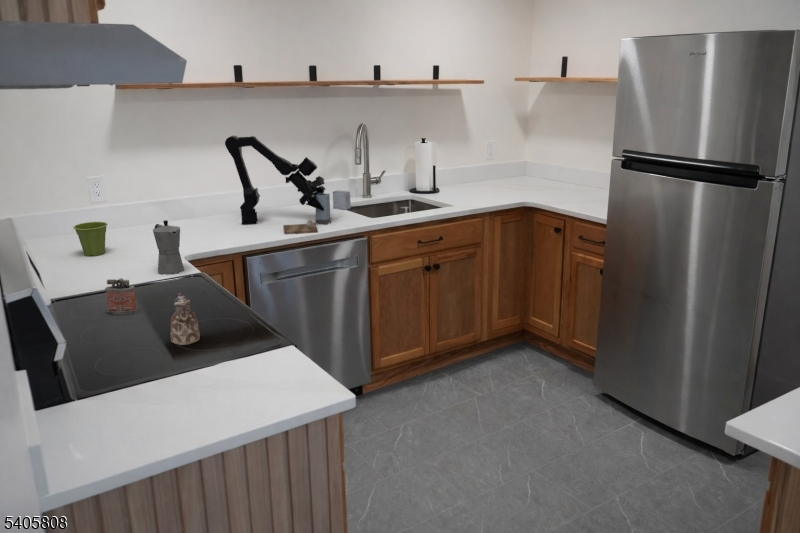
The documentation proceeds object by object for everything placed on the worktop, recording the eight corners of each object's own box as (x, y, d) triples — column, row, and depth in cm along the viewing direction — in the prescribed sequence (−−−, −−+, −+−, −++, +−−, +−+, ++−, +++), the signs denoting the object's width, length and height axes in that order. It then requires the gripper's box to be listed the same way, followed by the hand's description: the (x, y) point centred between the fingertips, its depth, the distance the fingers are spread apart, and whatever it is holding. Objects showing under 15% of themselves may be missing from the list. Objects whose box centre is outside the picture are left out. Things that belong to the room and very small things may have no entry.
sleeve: (315, 223, 296) (314, 195, 292) (319, 221, 301) (318, 193, 297) (326, 224, 294) (325, 195, 291) (331, 221, 299) (330, 193, 296)
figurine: (170, 346, 166) (165, 301, 163) (171, 335, 173) (166, 292, 169) (199, 342, 168) (195, 298, 165) (200, 332, 175) (195, 290, 171)
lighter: (139, 309, 192) (134, 277, 189) (135, 313, 189) (130, 280, 186) (111, 310, 192) (106, 277, 189) (106, 314, 188) (101, 281, 186)
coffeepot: (192, 272, 227) (187, 221, 222) (166, 278, 221) (160, 225, 216) (172, 263, 238) (167, 214, 233) (147, 268, 232) (141, 218, 226)
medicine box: (351, 208, 328) (350, 191, 325) (345, 210, 324) (345, 192, 322) (338, 207, 332) (337, 190, 329) (333, 208, 328) (332, 191, 326)
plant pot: (70, 256, 247) (65, 227, 244) (93, 248, 258) (89, 220, 254) (96, 259, 244) (92, 229, 240) (118, 251, 254) (114, 222, 251)
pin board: (284, 234, 278) (283, 222, 276) (283, 227, 290) (282, 216, 289) (317, 232, 280) (317, 221, 279) (315, 225, 293) (314, 214, 291)
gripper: (304, 174, 283) (329, 200, 284) (320, 168, 300) (344, 192, 301) (288, 191, 287) (313, 217, 288) (305, 184, 305) (328, 209, 305)
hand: (325, 208), depth 295 cm, fingers closed on sleeve, 5 cm apart
